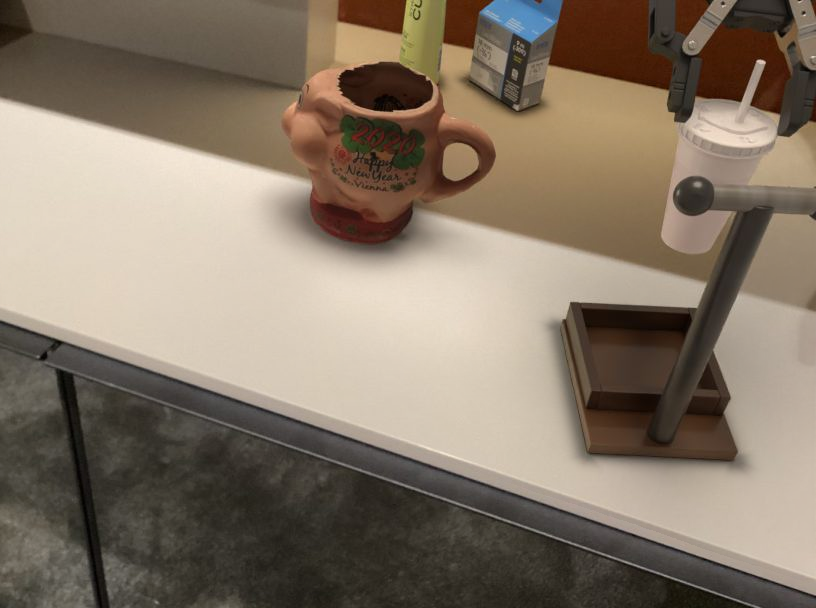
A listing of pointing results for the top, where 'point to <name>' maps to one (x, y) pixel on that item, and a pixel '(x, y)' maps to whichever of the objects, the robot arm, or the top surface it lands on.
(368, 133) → the pink novelty mug
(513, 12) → the blue grey carton
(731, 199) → the jewelry holder
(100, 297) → the top surface
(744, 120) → the smoothie
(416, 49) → the tube
